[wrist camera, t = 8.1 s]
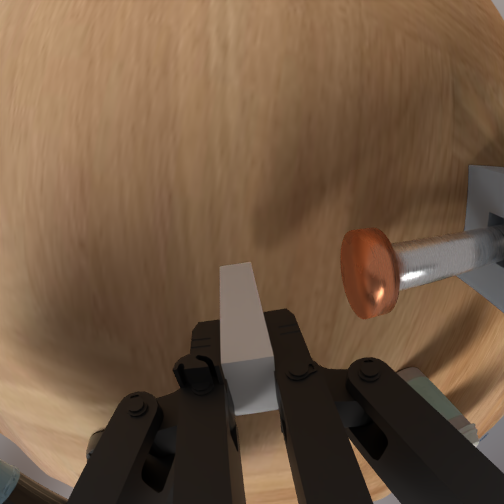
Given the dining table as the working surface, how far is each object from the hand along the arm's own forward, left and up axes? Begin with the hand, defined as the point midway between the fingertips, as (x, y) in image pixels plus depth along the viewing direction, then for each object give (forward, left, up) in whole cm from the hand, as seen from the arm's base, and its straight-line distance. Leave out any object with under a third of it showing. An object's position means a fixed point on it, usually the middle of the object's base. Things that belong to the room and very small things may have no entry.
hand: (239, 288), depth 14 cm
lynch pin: (+14, 0, -2) cm, 14 cm away
